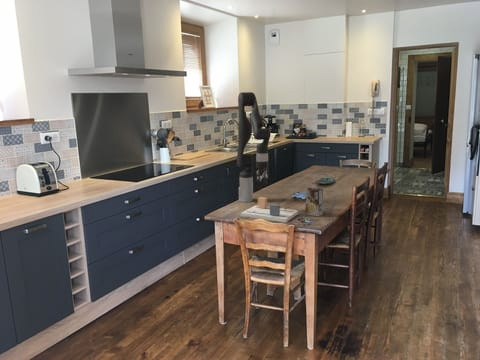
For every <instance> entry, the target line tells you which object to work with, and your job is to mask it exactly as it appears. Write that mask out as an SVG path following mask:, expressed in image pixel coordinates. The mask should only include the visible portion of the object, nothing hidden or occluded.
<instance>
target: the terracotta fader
mask: <svg viewBox="0 0 480 360" xmlns="http://www.w3.org/2000/svg"><path fill="white" fill-rule="evenodd" d="M257 206H258V207H259V208H266V207H268V197H263V196H262V197H261V196H260V197H258V198H257Z"/></svg>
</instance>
